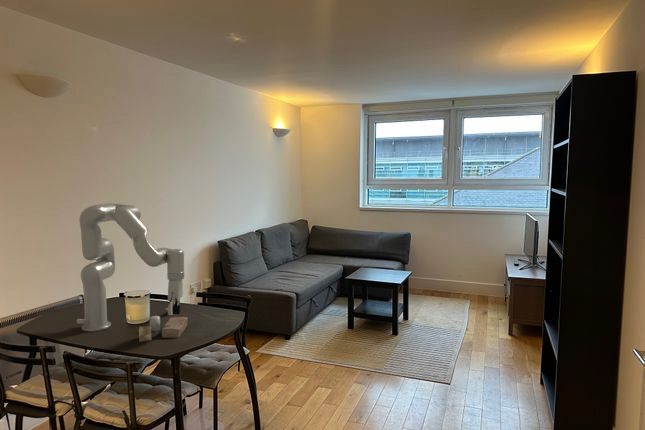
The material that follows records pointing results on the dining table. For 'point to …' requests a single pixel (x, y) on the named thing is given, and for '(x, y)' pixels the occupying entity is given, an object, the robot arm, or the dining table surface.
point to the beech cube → (145, 333)
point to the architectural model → (169, 308)
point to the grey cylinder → (155, 323)
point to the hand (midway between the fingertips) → (176, 313)
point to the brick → (174, 327)
